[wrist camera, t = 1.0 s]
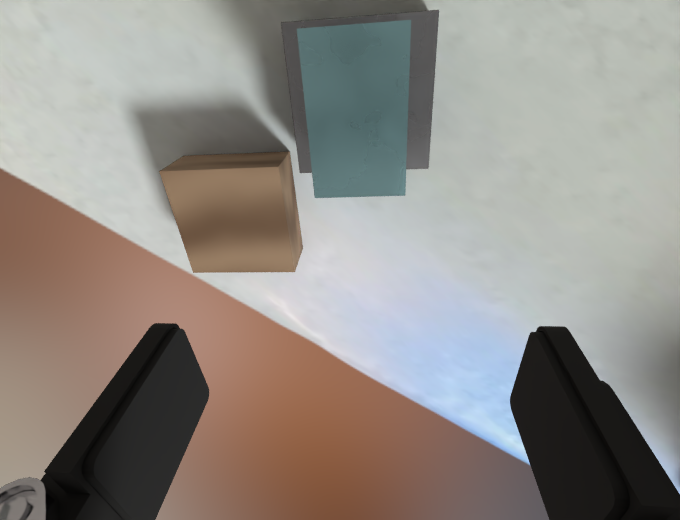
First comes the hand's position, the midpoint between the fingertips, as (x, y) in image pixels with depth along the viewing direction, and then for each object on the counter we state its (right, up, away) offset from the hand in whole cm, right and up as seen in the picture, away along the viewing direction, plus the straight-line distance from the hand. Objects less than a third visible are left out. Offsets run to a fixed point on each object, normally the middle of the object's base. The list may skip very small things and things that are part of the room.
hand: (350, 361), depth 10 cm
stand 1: (-9, +8, +22) cm, 25 cm away
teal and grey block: (+1, +13, +13) cm, 18 cm away
